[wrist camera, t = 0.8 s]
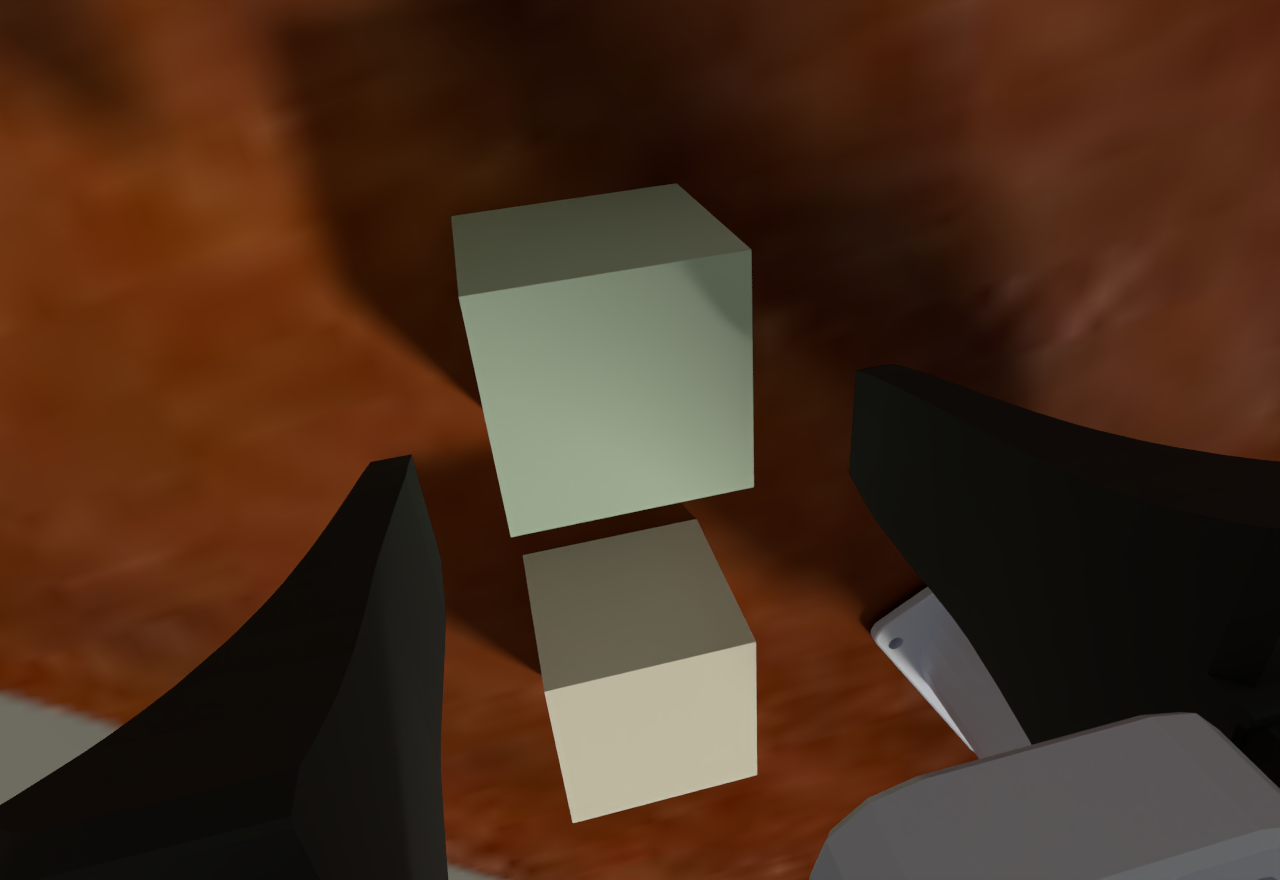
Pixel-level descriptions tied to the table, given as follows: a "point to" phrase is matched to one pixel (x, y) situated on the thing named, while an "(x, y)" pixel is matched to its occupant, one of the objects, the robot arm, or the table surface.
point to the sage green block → (609, 353)
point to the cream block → (643, 668)
